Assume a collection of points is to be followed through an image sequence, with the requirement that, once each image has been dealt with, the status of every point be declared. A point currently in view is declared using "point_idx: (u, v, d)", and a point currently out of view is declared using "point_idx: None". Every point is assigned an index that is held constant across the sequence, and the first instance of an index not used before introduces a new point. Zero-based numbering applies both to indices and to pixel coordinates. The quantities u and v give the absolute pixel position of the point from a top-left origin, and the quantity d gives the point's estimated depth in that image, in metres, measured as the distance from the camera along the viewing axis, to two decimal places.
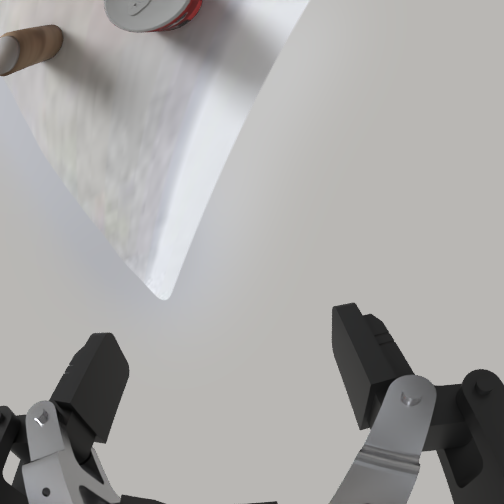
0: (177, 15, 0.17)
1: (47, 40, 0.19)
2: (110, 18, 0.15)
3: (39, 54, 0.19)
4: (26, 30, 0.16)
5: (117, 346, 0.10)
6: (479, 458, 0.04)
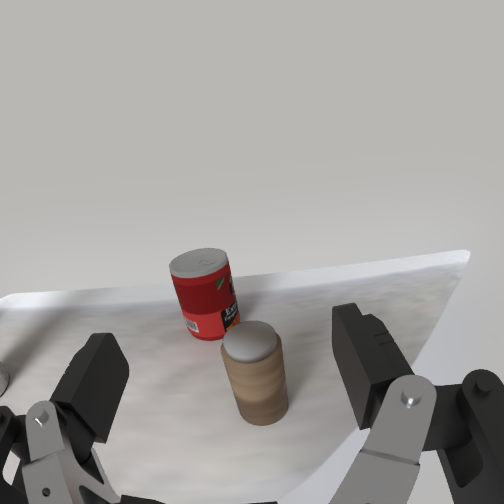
0: None
1: None
2: (216, 264, 0.36)
3: None
4: None
5: (117, 346, 0.10)
6: (479, 458, 0.04)
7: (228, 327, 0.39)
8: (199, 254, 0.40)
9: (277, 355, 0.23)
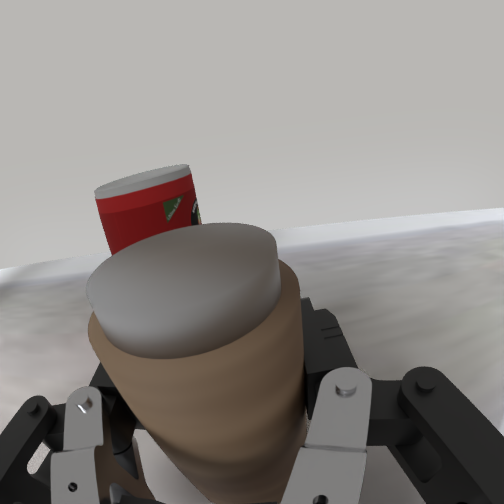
0: None
1: None
2: (166, 172, 0.18)
3: None
4: None
5: None
6: None
7: None
8: (149, 175, 0.23)
9: (288, 331, 0.05)
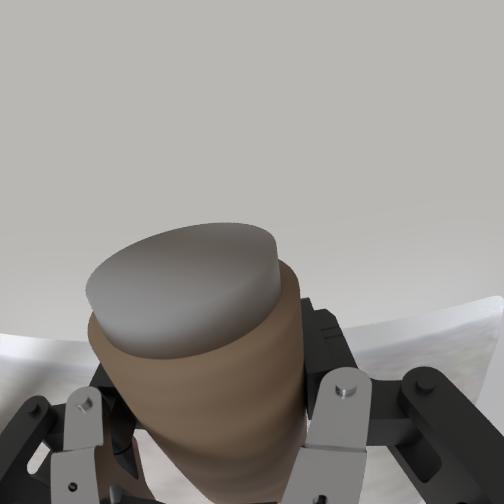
0: None
1: None
2: None
3: None
4: None
5: None
6: None
7: None
8: None
9: (287, 331, 0.05)
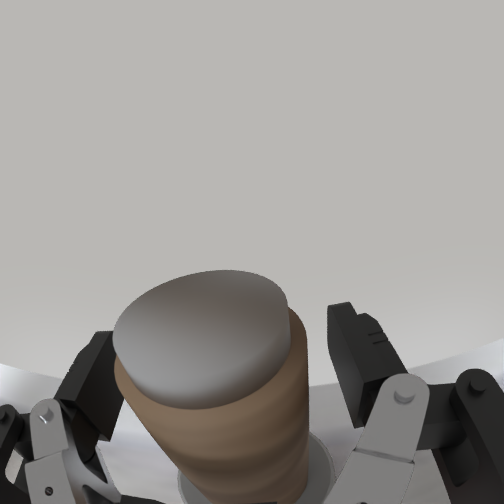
0: None
1: None
2: None
3: None
4: None
5: None
6: (475, 457, 0.04)
7: None
8: None
9: (297, 381, 0.06)
